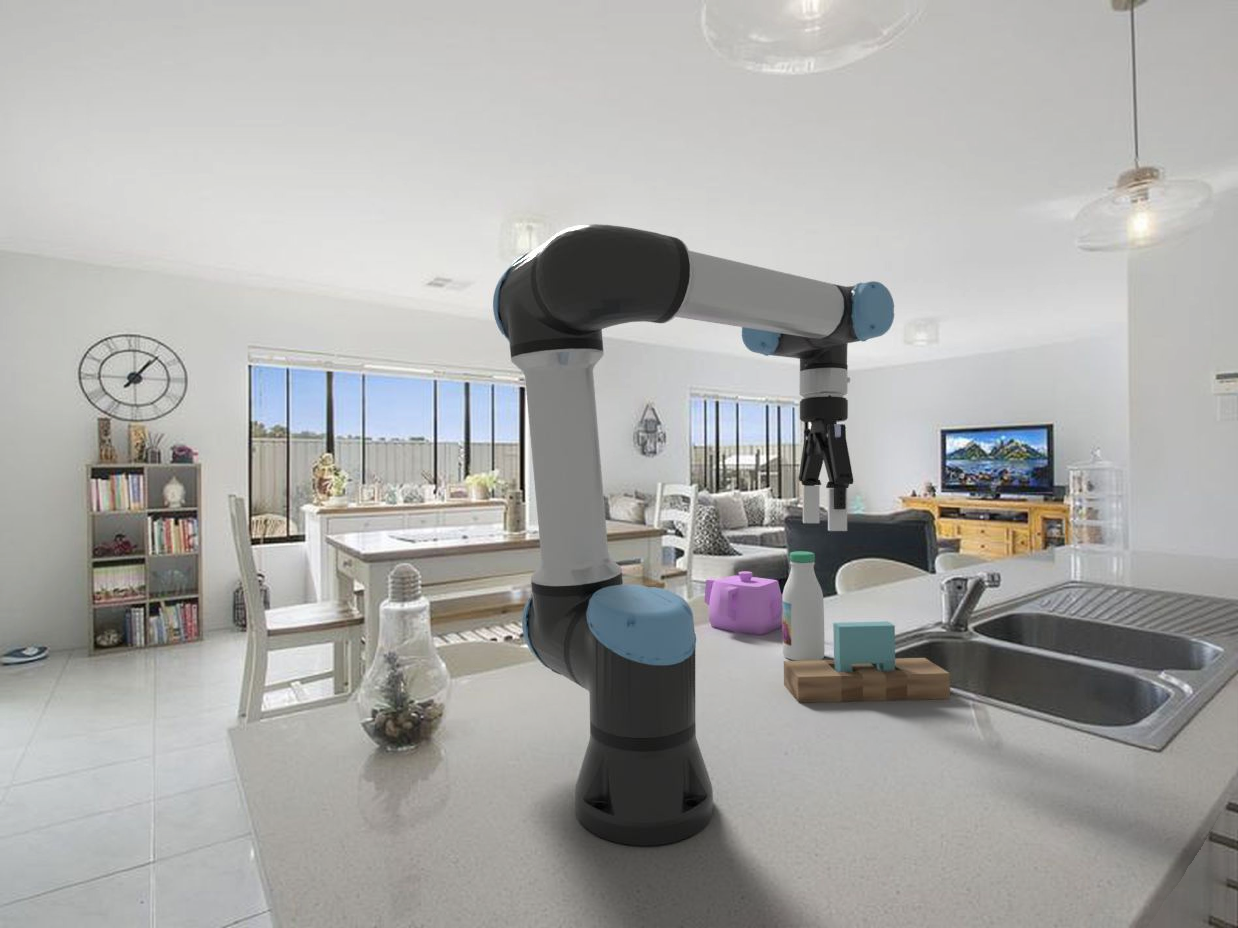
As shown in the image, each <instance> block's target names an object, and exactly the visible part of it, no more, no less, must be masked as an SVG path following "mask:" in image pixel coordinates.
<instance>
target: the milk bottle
mask: <svg viewBox="0 0 1238 928" xmlns="http://www.w3.org/2000/svg"><path fill="white" fill-rule="evenodd" d="M815 560H816V555H815V553H814V552H812V551H800V550H799V551H792V552H790V553H789V561H790V562H789V564H790V565H791V566H790V567H791V568H790V572H789V575H788V578H787V580H786V583H785V585H784V587H783V592H782V593H783V599H782V626H781V627H782V629H781V630H782V654H783V656H784V657H785V658H787V659H789V660H790V661H808V660H824V657H825V607H824V595H823V594H824V593H823V589H822V587H821V585H820V583H819V581H818V578H817V576H816V572H815V568H814V567H815V565H816V562H815Z"/></svg>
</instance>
